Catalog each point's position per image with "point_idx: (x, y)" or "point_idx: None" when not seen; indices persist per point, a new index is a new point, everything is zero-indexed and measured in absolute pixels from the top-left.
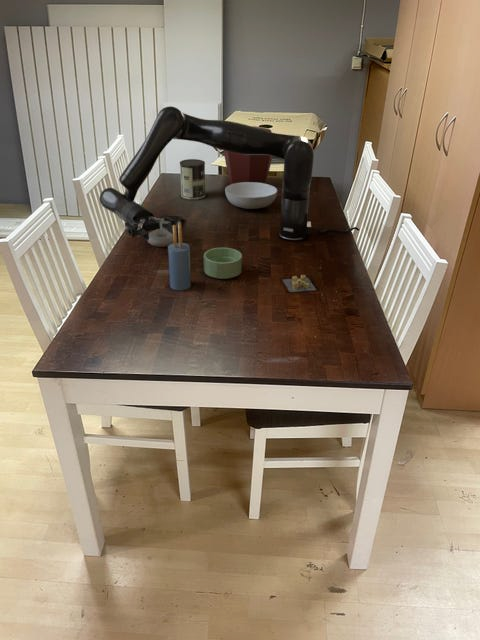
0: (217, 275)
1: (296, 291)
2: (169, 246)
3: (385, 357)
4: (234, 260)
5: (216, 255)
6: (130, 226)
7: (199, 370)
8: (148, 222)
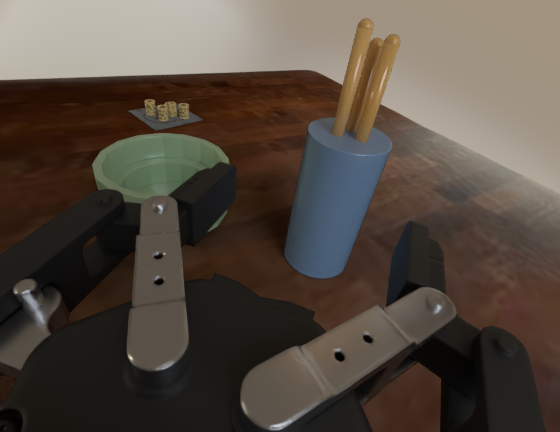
0: None
1: (195, 115)
2: (375, 151)
3: (288, 73)
4: (134, 171)
5: None
6: (510, 416)
7: (460, 147)
8: (254, 333)
